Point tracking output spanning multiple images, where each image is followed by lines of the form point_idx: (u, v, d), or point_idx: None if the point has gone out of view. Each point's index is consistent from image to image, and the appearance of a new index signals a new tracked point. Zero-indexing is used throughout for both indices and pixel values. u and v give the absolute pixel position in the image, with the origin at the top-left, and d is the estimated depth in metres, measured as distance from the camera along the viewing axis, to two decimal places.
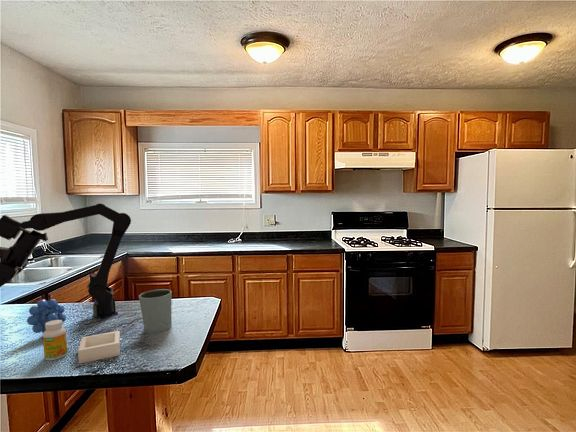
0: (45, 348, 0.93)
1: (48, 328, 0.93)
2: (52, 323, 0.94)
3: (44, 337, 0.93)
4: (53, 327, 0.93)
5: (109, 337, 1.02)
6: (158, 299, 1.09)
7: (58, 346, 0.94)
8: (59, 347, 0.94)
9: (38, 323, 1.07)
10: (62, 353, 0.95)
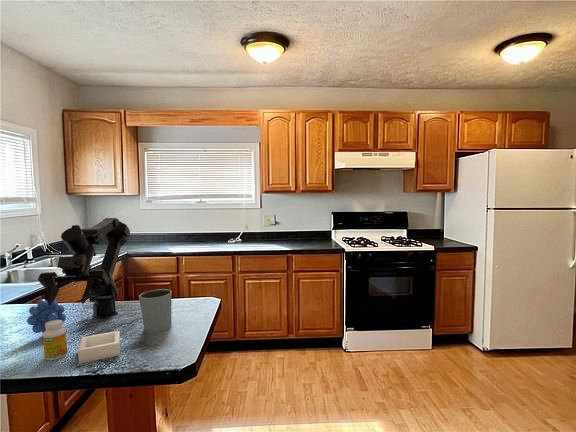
0: (45, 348, 0.93)
1: (48, 328, 0.93)
2: (52, 323, 0.94)
3: (44, 337, 0.93)
4: (53, 327, 0.93)
5: (109, 337, 1.02)
6: (158, 299, 1.09)
7: (58, 346, 0.94)
8: (59, 347, 0.94)
9: (38, 323, 1.07)
10: (62, 353, 0.95)
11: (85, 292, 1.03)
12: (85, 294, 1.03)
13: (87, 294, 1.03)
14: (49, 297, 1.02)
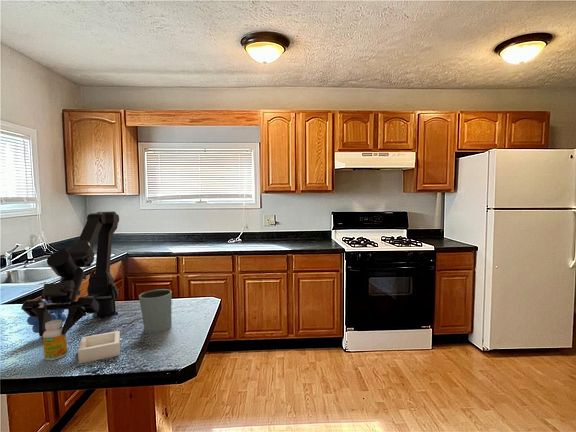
0: (45, 348, 0.93)
1: (48, 328, 0.93)
2: (52, 323, 0.94)
3: (44, 337, 0.93)
4: (53, 327, 0.93)
5: (109, 337, 1.02)
6: (158, 299, 1.09)
7: (58, 346, 0.94)
8: (59, 347, 0.94)
9: (38, 323, 1.07)
10: (62, 353, 0.95)
11: (66, 322, 0.95)
12: (66, 324, 0.95)
13: (68, 324, 0.96)
14: (40, 327, 0.94)
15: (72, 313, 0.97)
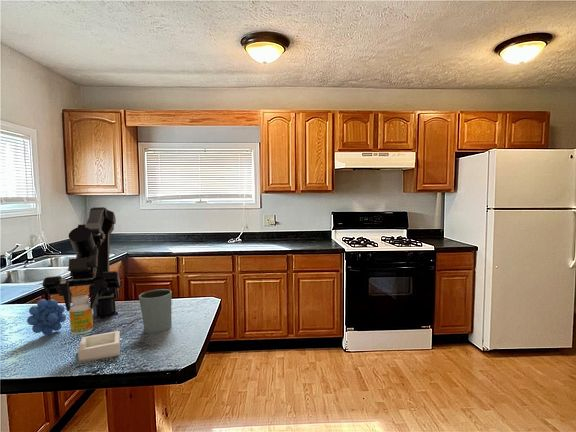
0: (73, 322, 0.93)
1: (76, 302, 0.93)
2: (79, 298, 0.94)
3: (72, 311, 0.93)
4: (81, 301, 0.94)
5: (109, 337, 1.02)
6: (158, 299, 1.09)
7: (86, 320, 0.94)
8: (88, 320, 0.95)
9: (38, 323, 1.07)
10: (90, 327, 0.95)
11: (93, 296, 0.96)
12: (93, 298, 0.96)
13: (95, 298, 0.97)
14: (67, 302, 0.94)
15: (98, 287, 0.98)
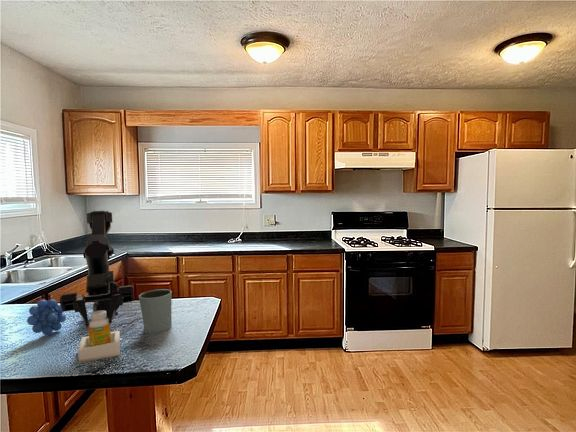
0: (93, 338, 0.95)
1: (96, 318, 0.95)
2: (98, 313, 0.96)
3: (92, 327, 0.94)
4: (101, 317, 0.96)
5: None
6: (158, 299, 1.09)
7: (106, 335, 0.96)
8: (107, 335, 0.97)
9: (38, 323, 1.07)
10: (109, 341, 0.97)
11: (111, 311, 0.98)
12: (112, 313, 0.98)
13: (113, 313, 0.99)
14: (85, 318, 0.95)
15: (115, 302, 1.00)
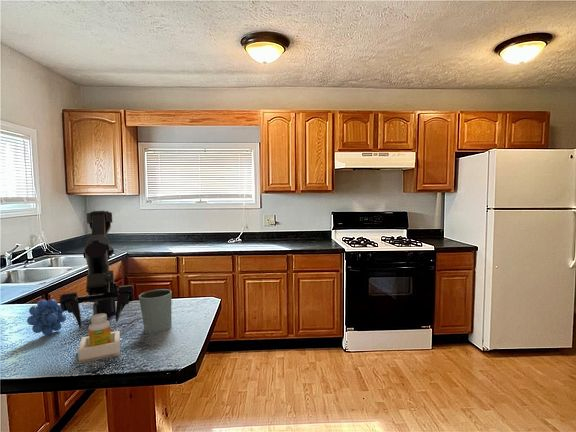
0: (94, 341, 0.95)
1: (96, 321, 0.95)
2: (98, 316, 0.96)
3: (93, 330, 0.95)
4: (101, 320, 0.96)
5: None
6: (158, 299, 1.09)
7: (106, 338, 0.96)
8: (107, 338, 0.97)
9: (38, 323, 1.07)
10: None
11: (117, 310, 0.99)
12: (118, 312, 0.99)
13: (119, 312, 0.99)
14: (78, 319, 0.94)
15: (121, 301, 1.00)
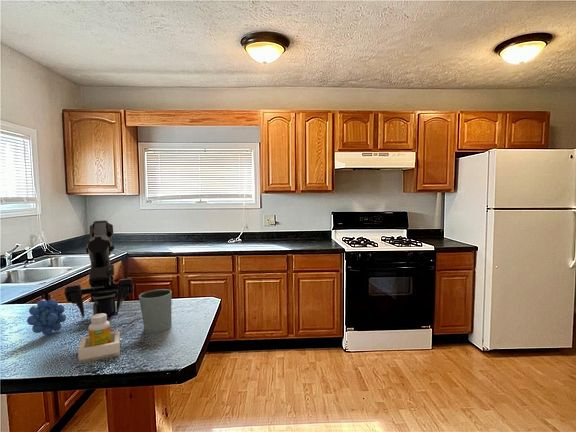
0: (94, 341, 0.95)
1: (96, 321, 0.95)
2: (98, 316, 0.96)
3: (93, 330, 0.95)
4: (101, 320, 0.96)
5: None
6: (158, 299, 1.09)
7: (106, 338, 0.96)
8: (107, 338, 0.97)
9: (38, 323, 1.07)
10: None
11: (118, 301, 1.07)
12: (119, 303, 1.07)
13: (120, 302, 1.08)
14: (82, 309, 1.03)
15: (122, 293, 1.09)
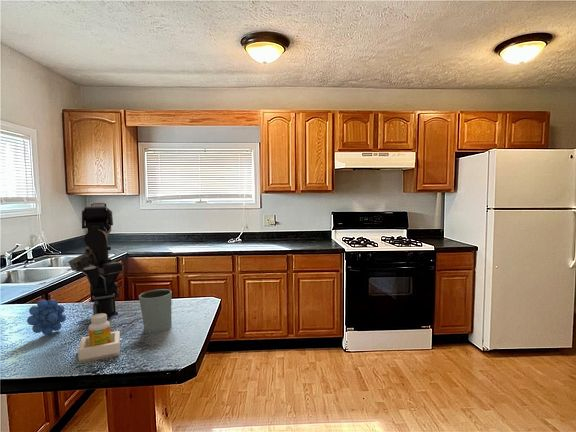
0: (94, 341, 0.95)
1: (96, 321, 0.95)
2: (98, 316, 0.96)
3: (93, 330, 0.95)
4: (101, 320, 0.96)
5: None
6: (158, 299, 1.09)
7: (106, 338, 0.96)
8: (107, 338, 0.97)
9: (38, 323, 1.07)
10: None
11: (105, 285, 1.09)
12: (106, 287, 1.09)
13: (108, 286, 1.09)
14: (90, 284, 1.15)
15: (104, 278, 1.08)
